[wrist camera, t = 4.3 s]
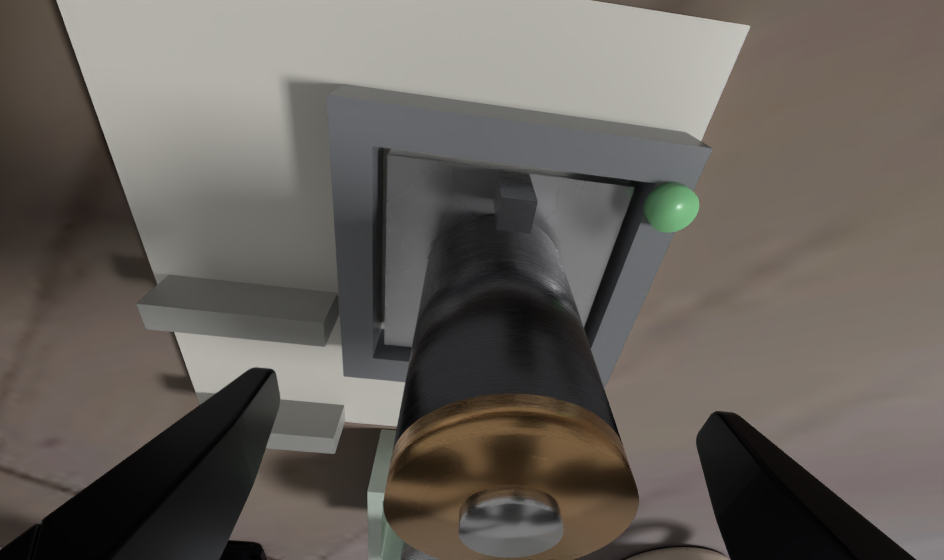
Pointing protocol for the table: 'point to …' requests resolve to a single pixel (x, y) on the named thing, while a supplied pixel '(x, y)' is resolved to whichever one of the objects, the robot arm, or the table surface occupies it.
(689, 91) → the white square base board
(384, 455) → the cup
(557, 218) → the cradle
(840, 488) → the table surface
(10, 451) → the table surface
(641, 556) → the teacup with lid
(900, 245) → the table surface
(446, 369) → the cell
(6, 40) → the table surface
